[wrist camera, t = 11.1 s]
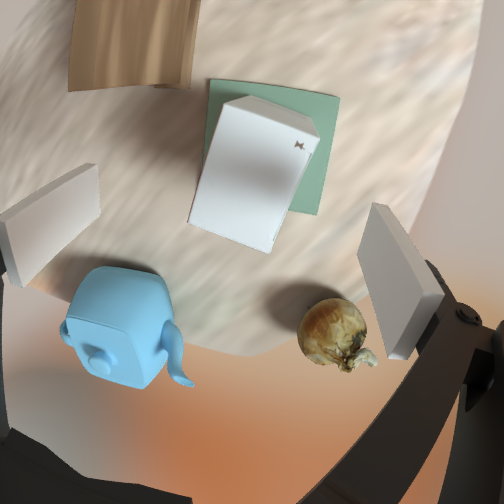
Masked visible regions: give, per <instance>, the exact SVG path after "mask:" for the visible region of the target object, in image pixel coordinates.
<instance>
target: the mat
mask: <svg viewBox="0 0 504 504" xmlns="http://www.w3.org/2000/svg"><path fill="white" fill-rule="evenodd" d="M249 95H253V96H256V97H259V98H261V99H264V100H267V101H270V102H272V103H275V104H278V105H281V106H283V107H286V108H289V109H291V110H294V111H296V112H299V113H301V114H303V115H306V116H309V117H311V119H312V121H313V123H314V126H315V128H316V130H317V133H318V135H319V137H320V141H319V143H318V145H317V147H316V149H315V151H314V153H313V155H312V157H311V159H310V161H309V163H308V165H307V167H306V169H305V172H304V174H303V176H302V179H301V181H300V183H299V185H298V188H297V190H296V192H295V194H294V197H293V199H292V201H291V203H290V206H289V208H288V210H290V211H295V212H301V213H306V214H311V215H317V212H318V208H319V203H320V199H321V194H322V190H323V185H324V180H325V176H326V171H327V166H328V161H329V156H330V151H331V146H332V141H333V136H334V131H335V125H336V120H337V114H338V109H339V103H340V98H339V97H334V96H329V95H325V94H320V93H314V92H309V91H304V90H298V89H292V88H286V87H279V86H272V85H265V84H257V83H248V82H239V81H228V80H215V79H211V81H210V90H209V99H208V109H207V119H206V130H205V141H204V153H203V165H204V162H205V158H206V155H207V152H208V148H209V145H210V142H211V139H212V136H213V133H214V130H215V126H216V123H217V120H218V117H219V114H220V111H221V108H222V105H223V104H224V103H226V102H229V101H232V100H236V99H239V98H242V97H245V96H249ZM202 168H203V166H202Z"/></svg>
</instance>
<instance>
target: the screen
mask: <svg viewBox="0 0 504 504" xmlns="http://www.w3.org/2000/svg"><path fill="white" fill-rule="evenodd" d="M200 3H201V0H77V3H76V9H75V16H74V23H73V30H72V39H71V48H70V60H69V74H68V92H72V91H84V90H96V89H105V88H113V87H123V86H135V85H149V84H155V88H177V89H190V80H191V71H192V62H193V53H194V45H195V38H196V30H197V23H198V16H199V9H200Z"/></svg>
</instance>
